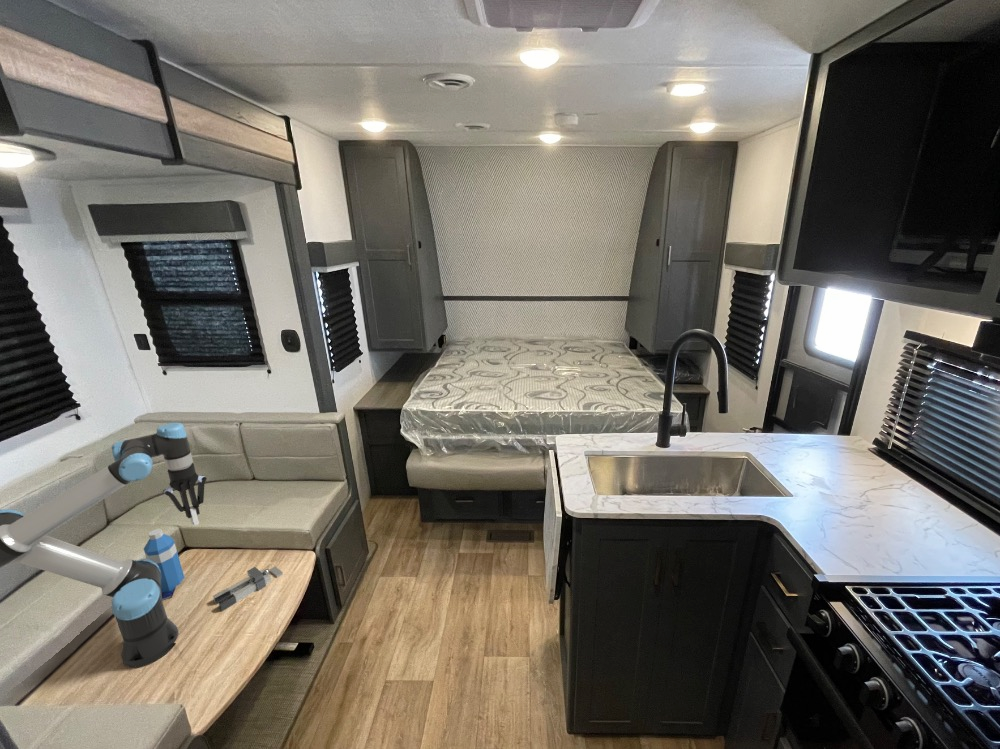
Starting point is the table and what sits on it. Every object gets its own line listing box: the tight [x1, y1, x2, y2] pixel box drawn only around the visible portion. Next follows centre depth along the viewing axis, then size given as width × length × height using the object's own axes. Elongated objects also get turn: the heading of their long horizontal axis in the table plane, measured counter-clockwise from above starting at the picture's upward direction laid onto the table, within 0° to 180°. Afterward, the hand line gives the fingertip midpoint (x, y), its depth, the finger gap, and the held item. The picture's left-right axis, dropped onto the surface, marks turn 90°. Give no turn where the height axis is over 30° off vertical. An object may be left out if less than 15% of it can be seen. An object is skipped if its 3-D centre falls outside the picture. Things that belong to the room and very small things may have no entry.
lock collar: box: [246, 566, 267, 592], centre depth 168 cm, size 3×7×6 cm, turn 54°
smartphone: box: [161, 588, 176, 602], centre depth 168 cm, size 7×1×15 cm
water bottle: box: [143, 528, 185, 593], centre depth 167 cm, size 9×9×25 cm
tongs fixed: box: [217, 566, 284, 612], centre depth 166 cm, size 23×6×3 cm, turn 144°
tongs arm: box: [212, 568, 271, 605], centre depth 166 cm, size 19×4×4 cm, turn 140°
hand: (195, 523), depth 156 cm, fingers closed
